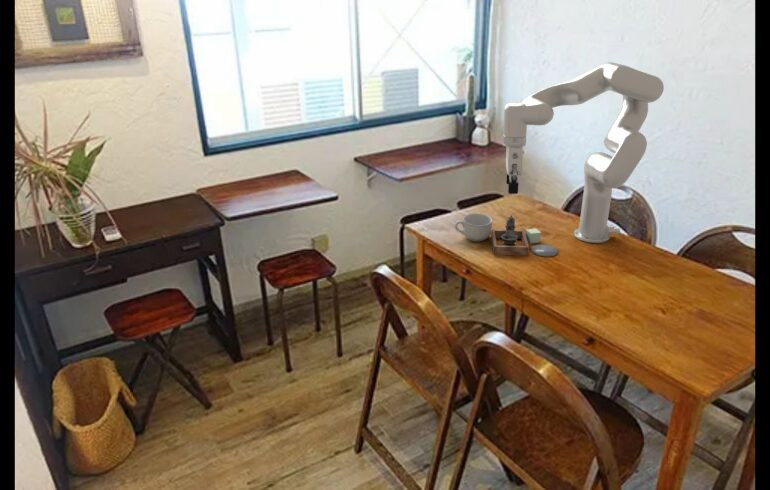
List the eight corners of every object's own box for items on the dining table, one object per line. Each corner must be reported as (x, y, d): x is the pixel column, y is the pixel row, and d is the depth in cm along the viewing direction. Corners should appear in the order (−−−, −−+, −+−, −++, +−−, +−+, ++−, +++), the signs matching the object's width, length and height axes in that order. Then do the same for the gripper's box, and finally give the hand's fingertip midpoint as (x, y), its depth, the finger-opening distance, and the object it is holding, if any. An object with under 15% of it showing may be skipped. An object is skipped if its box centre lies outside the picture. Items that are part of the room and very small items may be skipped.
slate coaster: (555, 246, 206) (555, 244, 206) (559, 257, 198) (559, 255, 198) (530, 245, 207) (530, 244, 207) (532, 256, 199) (533, 254, 199)
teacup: (490, 232, 219) (491, 213, 216) (492, 244, 209) (493, 224, 206) (453, 232, 220) (454, 212, 217) (454, 243, 211) (454, 223, 207)
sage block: (535, 238, 214) (536, 228, 212) (540, 242, 210) (541, 232, 208) (525, 239, 213) (526, 229, 211) (530, 243, 209) (531, 233, 208)
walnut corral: (523, 237, 214) (524, 230, 213) (528, 255, 200) (528, 247, 199) (491, 236, 215) (491, 229, 214) (493, 254, 202) (493, 246, 201)
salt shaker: (518, 243, 209) (520, 212, 204) (516, 250, 204) (518, 219, 199) (502, 241, 211) (504, 211, 206) (499, 248, 206) (501, 217, 201)
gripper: (528, 147, 184) (525, 197, 191) (523, 133, 199) (520, 180, 206) (504, 147, 185) (502, 197, 192) (501, 134, 200) (499, 180, 207)
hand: (511, 188), depth 199 cm, fingers open, 9 cm apart
